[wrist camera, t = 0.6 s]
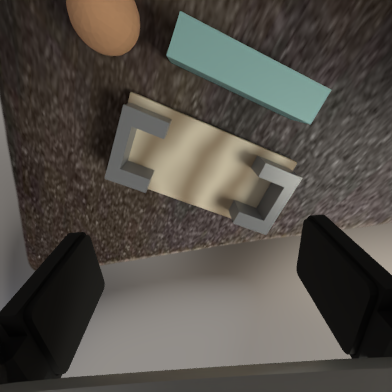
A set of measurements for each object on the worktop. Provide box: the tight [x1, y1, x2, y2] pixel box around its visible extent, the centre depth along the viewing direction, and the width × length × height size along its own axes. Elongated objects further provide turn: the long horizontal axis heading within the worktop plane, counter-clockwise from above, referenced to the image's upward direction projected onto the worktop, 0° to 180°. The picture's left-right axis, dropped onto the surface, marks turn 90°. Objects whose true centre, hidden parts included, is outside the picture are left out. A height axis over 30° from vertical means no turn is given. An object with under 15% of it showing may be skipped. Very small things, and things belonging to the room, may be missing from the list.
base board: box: [128, 92, 297, 218], centre depth 33 cm, size 25×12×2 cm, turn 68°
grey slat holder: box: [105, 103, 302, 235], centre depth 31 cm, size 24×10×4 cm, turn 68°
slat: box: [166, 11, 331, 124], centre depth 27 cm, size 18×4×6 cm, turn 67°
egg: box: [66, 0, 140, 56], centre depth 23 cm, size 7×7×9 cm
